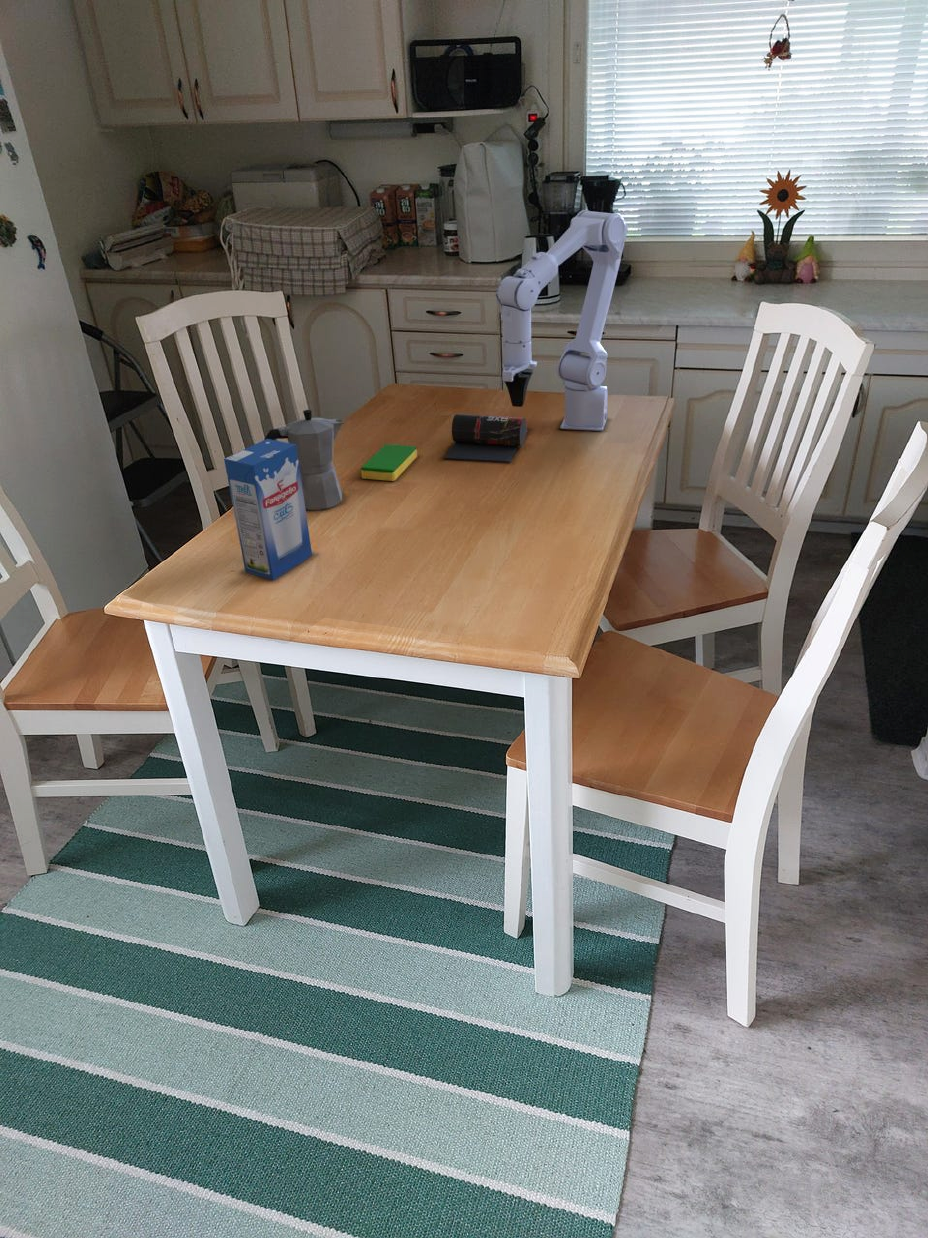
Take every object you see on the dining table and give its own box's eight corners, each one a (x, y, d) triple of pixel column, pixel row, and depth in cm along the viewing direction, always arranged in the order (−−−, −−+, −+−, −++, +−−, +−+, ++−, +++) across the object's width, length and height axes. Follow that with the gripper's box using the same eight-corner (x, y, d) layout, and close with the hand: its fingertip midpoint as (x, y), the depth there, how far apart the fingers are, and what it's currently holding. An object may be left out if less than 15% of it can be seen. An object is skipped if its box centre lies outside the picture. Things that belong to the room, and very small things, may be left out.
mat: (528, 429, 205) (528, 428, 205) (509, 462, 189) (509, 461, 189) (467, 426, 209) (467, 425, 208) (444, 459, 192) (444, 457, 192)
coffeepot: (343, 485, 183) (333, 396, 173) (360, 501, 175) (350, 410, 166) (268, 502, 177) (253, 411, 168) (282, 519, 170) (267, 426, 160)
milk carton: (273, 580, 150) (253, 465, 139) (245, 572, 153) (223, 458, 142) (312, 555, 157) (296, 444, 146) (285, 547, 160) (267, 438, 149)
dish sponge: (361, 478, 185) (360, 467, 184) (386, 454, 196) (385, 443, 195) (394, 481, 183) (393, 470, 182) (417, 456, 194) (417, 445, 193)
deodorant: (519, 420, 191) (451, 416, 195) (519, 449, 193) (451, 444, 197) (526, 415, 196) (460, 411, 200) (526, 442, 198) (460, 438, 203)
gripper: (526, 350, 178) (526, 418, 185) (545, 331, 189) (545, 395, 196) (491, 348, 180) (493, 415, 187) (512, 330, 191) (513, 393, 198)
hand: (517, 405), depth 192 cm, fingers closed
